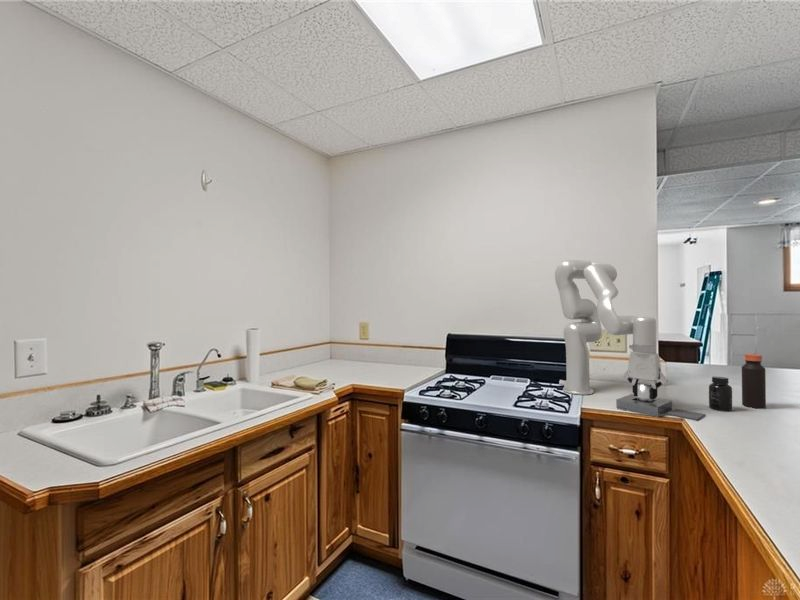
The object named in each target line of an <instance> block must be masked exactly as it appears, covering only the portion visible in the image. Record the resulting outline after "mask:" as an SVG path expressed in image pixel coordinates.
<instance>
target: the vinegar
mask: <svg viewBox="0 0 800 600" xmlns="http://www.w3.org/2000/svg"><path fill="white" fill-rule="evenodd" d="M744 361H745V364H743V365H742V366H741V404H742V406H743V405H744V407H746V408H750V407H752V408H751V409H758V408H763V409H765V408H766V407H767V399H766V397H767V394H766V391H767V390H766V389H767V388H766V386H767V385H766V379H767V378H766V368H765V367H764V366H763V365H762V362H763V356H762V354H757V353H745V354H744Z"/></svg>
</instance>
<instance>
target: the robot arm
mask: <svg viewBox="0 0 800 600" xmlns="http://www.w3.org/2000/svg"><path fill="white" fill-rule="evenodd" d="M617 277H618V272H617V269H616V268H615V267H614V266H613V265H611V264H609V263H603V262H596V261H591V260H575V259H574V260H573V259H570V260H569V259H568V260H564V261H562V262H560V263H558V265H557V266H556V268H555V271H554V281H555V283H556V287H557V291H558V294H559V299H560V304H561V305H560V306H561V310H562V314H563V316H564V318H566V319H567V320H570V321H571V320H573V321H574V320H577V321H575V322H571V323H568V324H566V325H565V327H564V329H563V338H564V342H565V343H564V345H565V358H566V359H565V362H566V365H565V367H566V380H564V379H559V382H558V384H559V385H561V386H563V388H562V392H564V393H567V394H570V395H571V394H573V395H580V396H586V395H588V394H589V395H593V394H594V389H592V388H591V387H590V385H591V384H590V383H591V382H590V351H589V348H588V346H587V343H595V342H598V341H599V340H601V337H602V333H603V332H602V331H603V329H602V326H603V328H604V329H605V331H606V332H608V333H609V334H611V335H612V336H613V335H614V336H624V335H625V336H626V335H627V336H628V335H632V344H629V346H628V348H629V349H630V350H632V351H630V353H629V358H628V365H627V366H628V367H627V370H626V371H625V372H624V373H623V374H622V376H623V377H625V379H627V381H628V382H629V383H630V384H631V386H632V394H634V396H637V383H639V380H642V381H648V382H649V383H650V384H651V385H652V389H651V399H655V398H658V389H659V388H660V387H661V386H662V385H664V384H666V383H668V382H669V380H668V378H667V377H666V376H665V375H664V374H663V373H662V366H661V359H660V356H659V353H657V320H656V319H655V318H654V317H651V316H636V315H635V316H634V315H618V314H617V313H616V311H615V309H614V308H613V305H612V300H613V299H615V298H617V296H618V294H619V290H618V288H617V286H616V285H615V284H614V282H615V281H616V279H617ZM574 279H575V280H576V279H578V280H579V279H580V280H585V281H586V283H587V284H588V286H589V288H590V289H591V291H592V293H593V295H594V296H595V297H596V300H597V302H596V304H595V302H594V301H592V300H591V299H589V298H581V294H580V290H579V287H578V286H577V283H576V282H575V281H574ZM578 320H580V321H578ZM659 380H660V381H659ZM592 393H593V394H592Z"/></svg>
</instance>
